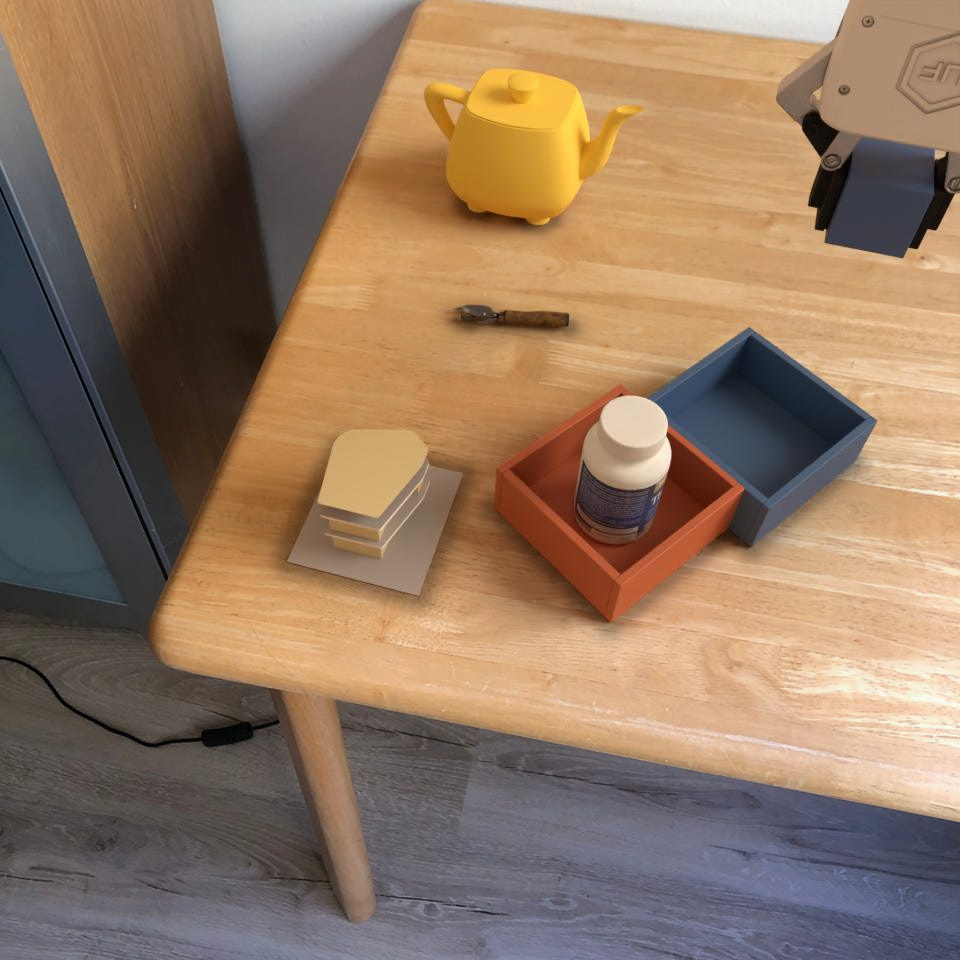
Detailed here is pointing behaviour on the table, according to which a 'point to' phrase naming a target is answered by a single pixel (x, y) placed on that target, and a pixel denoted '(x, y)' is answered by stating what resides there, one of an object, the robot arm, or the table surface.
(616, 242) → the table surface
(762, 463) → the blue bin
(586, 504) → the pill bottle
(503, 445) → the table surface
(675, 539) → the terracotta bin
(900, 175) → the blue block
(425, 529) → the stacked layers on plate
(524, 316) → the can opener
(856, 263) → the table surface
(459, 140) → the teapot
